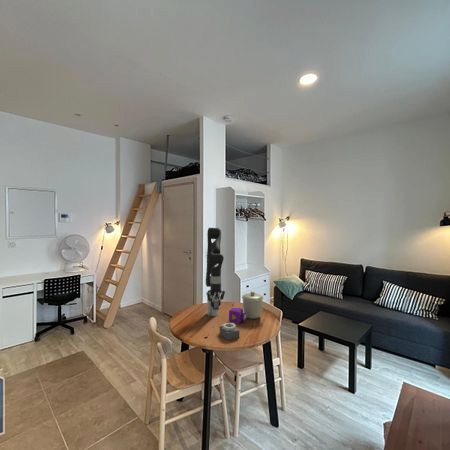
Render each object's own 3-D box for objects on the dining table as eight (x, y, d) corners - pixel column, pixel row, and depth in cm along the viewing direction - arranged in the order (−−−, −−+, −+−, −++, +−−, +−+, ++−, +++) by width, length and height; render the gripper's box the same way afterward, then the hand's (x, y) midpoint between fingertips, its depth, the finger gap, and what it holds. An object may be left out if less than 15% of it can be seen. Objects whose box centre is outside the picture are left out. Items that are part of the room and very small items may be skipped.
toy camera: (245, 324, 186) (245, 312, 186) (228, 323, 189) (228, 310, 189) (247, 319, 197) (247, 307, 197) (230, 318, 199) (230, 305, 199)
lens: (211, 308, 171) (211, 296, 171) (217, 307, 173) (217, 296, 173) (213, 310, 167) (214, 298, 167) (219, 309, 169) (220, 297, 169)
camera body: (219, 333, 172) (219, 323, 171) (230, 330, 176) (230, 321, 176) (227, 340, 161) (227, 329, 161) (239, 337, 165) (239, 327, 165)
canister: (261, 312, 212) (261, 288, 212) (265, 320, 194) (265, 294, 194) (240, 312, 212) (240, 288, 212) (242, 320, 194) (242, 294, 194)
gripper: (222, 280, 177) (222, 303, 177) (204, 281, 170) (204, 306, 170) (227, 282, 170) (227, 306, 170) (208, 284, 164) (208, 309, 164)
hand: (215, 306), depth 170 cm, fingers closed on lens, 4 cm apart
